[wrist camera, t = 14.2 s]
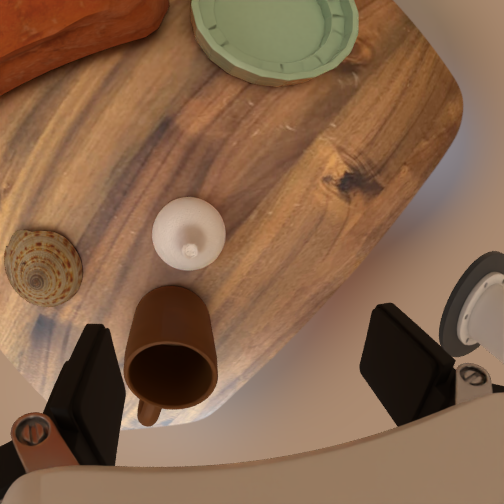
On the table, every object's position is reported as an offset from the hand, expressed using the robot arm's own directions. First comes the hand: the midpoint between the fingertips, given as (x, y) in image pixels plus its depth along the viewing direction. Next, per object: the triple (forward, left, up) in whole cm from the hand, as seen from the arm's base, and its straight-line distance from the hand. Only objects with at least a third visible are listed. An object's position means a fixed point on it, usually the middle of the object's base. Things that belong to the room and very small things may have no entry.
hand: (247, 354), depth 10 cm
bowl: (-5, -19, -19) cm, 28 cm away
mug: (+5, +12, -20) cm, 23 cm away
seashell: (+17, +4, -20) cm, 26 cm away
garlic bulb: (+2, +1, -20) cm, 20 cm away
